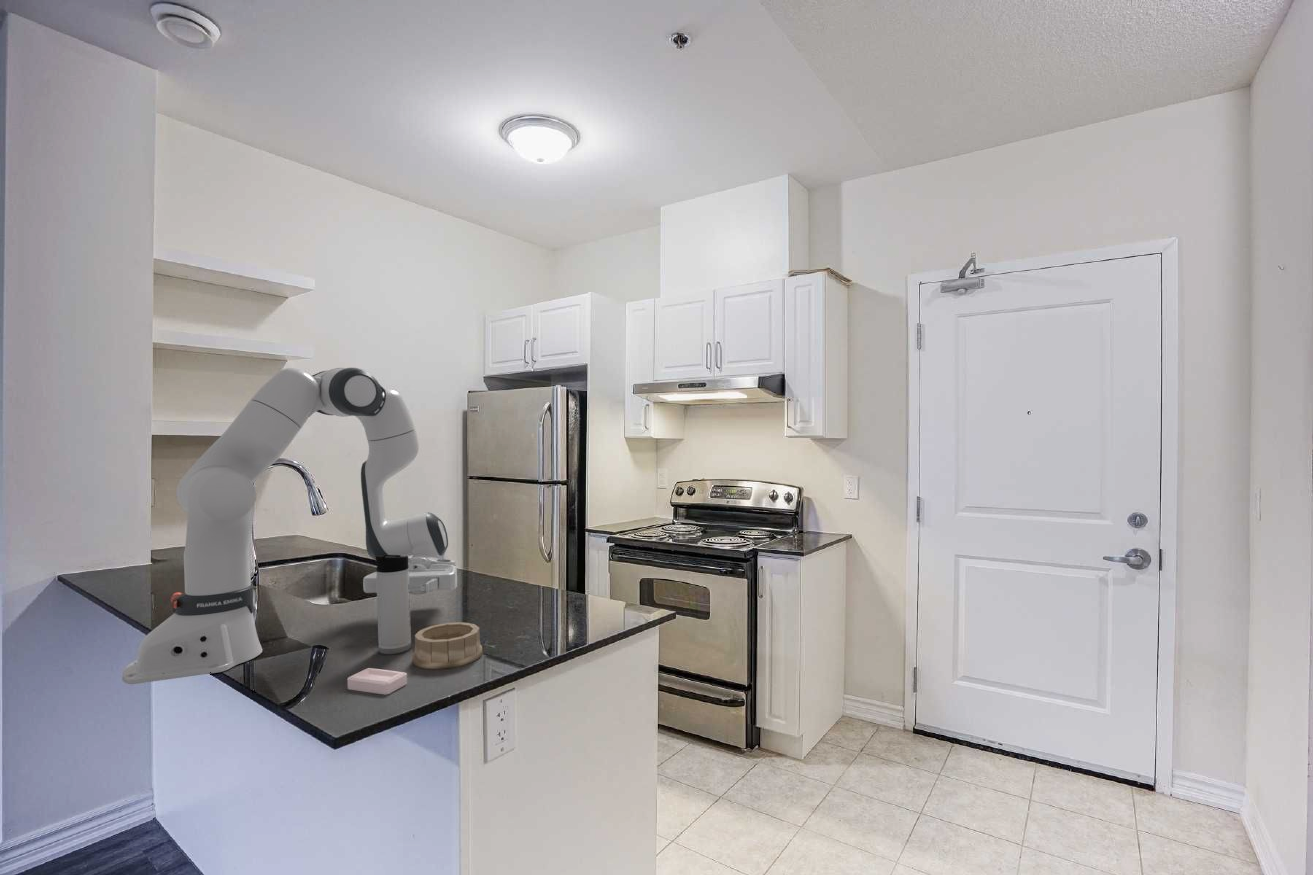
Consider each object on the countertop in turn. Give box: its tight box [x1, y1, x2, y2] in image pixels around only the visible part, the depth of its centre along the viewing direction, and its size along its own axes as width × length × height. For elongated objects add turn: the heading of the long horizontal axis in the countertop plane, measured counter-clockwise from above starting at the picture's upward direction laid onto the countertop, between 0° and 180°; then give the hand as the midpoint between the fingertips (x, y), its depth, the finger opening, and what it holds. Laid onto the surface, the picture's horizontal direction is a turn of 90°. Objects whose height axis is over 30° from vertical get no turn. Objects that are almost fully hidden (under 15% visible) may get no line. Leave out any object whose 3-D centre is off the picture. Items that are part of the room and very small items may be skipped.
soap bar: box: [347, 667, 408, 695], centre depth 115 cm, size 5×9×2 cm, turn 70°
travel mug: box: [375, 555, 412, 655], centre depth 134 cm, size 6×7×20 cm
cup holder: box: [412, 621, 483, 670], centre depth 129 cm, size 13×13×5 cm
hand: (402, 589), depth 140 cm, fingers open, 8 cm apart
